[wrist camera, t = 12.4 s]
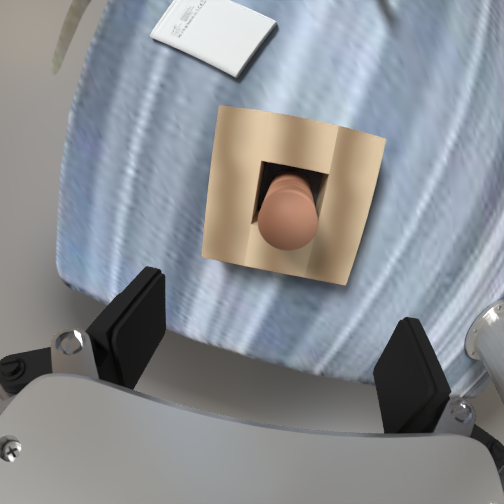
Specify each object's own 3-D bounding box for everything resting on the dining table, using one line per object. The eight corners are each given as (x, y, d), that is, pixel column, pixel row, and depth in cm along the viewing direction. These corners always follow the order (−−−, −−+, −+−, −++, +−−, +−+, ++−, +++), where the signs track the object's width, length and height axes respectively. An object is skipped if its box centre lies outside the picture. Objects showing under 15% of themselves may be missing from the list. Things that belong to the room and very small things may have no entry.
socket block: (373, 136, 29) (386, 138, 24) (340, 264, 36) (345, 285, 31) (230, 108, 30) (219, 105, 25) (213, 240, 37) (201, 257, 32)
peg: (313, 173, 32) (323, 200, 21) (305, 211, 33) (310, 255, 23) (273, 165, 32) (262, 187, 21) (267, 203, 34) (253, 244, 23)
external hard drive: (237, 79, 29) (153, 39, 27) (277, 25, 25) (189, -12, 24) (235, 77, 27) (148, 36, 26) (276, 20, 24) (185, -17, 22)
